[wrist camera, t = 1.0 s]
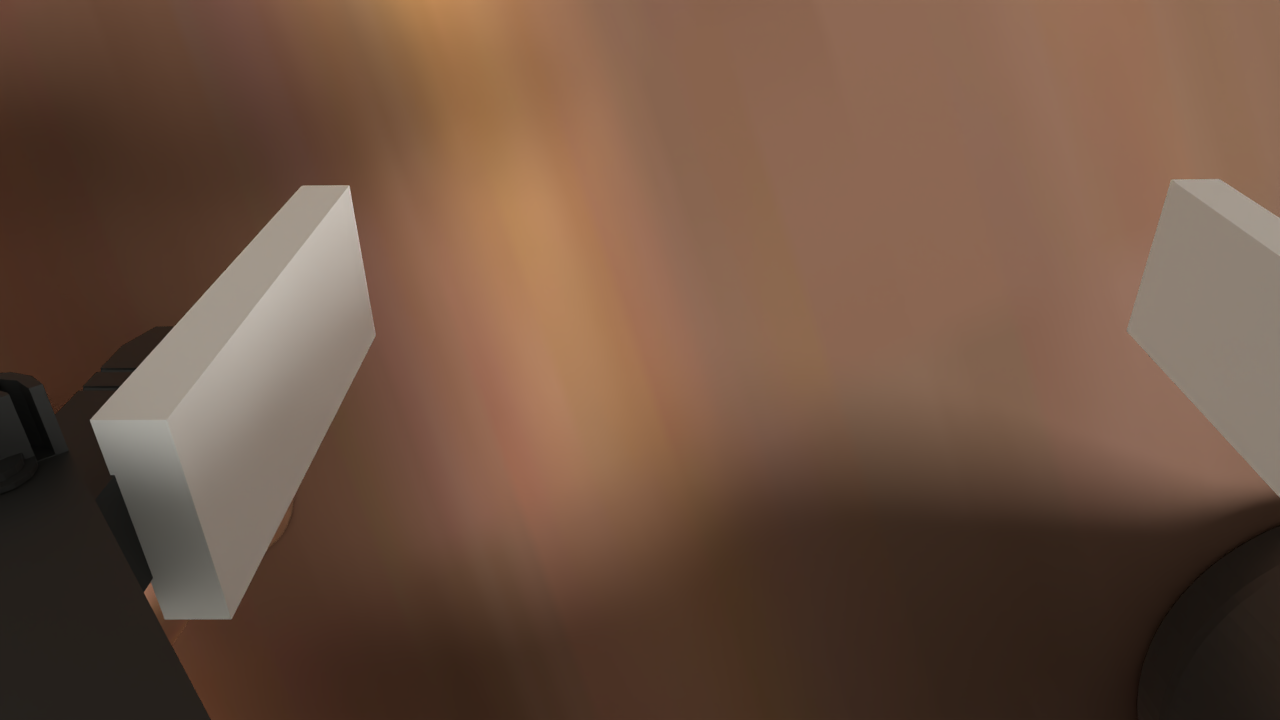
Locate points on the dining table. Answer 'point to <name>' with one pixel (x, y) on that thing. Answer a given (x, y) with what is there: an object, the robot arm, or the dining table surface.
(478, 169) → the dining table surface
